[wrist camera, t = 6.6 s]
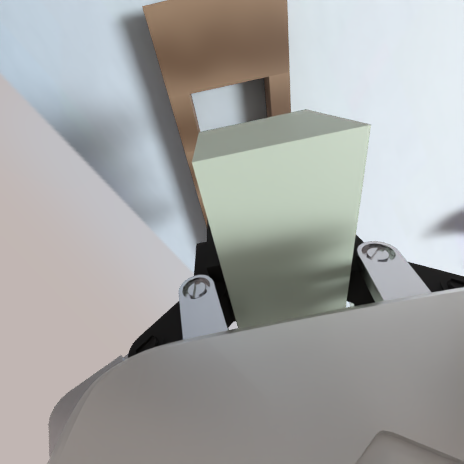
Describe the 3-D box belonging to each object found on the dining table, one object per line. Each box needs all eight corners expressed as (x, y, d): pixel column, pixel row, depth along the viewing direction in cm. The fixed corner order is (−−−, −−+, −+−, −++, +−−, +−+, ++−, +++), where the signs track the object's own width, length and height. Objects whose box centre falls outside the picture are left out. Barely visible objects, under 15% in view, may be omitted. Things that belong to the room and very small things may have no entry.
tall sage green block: (201, 122, 11) (192, 162, 5) (283, 104, 11) (371, 124, 5) (238, 282, 17) (254, 386, 11) (292, 272, 17) (336, 371, 11)
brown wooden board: (149, 14, 16) (142, 6, 14) (278, -16, 15) (286, -28, 14) (217, 254, 28) (218, 265, 26) (290, 240, 28) (295, 251, 26)
